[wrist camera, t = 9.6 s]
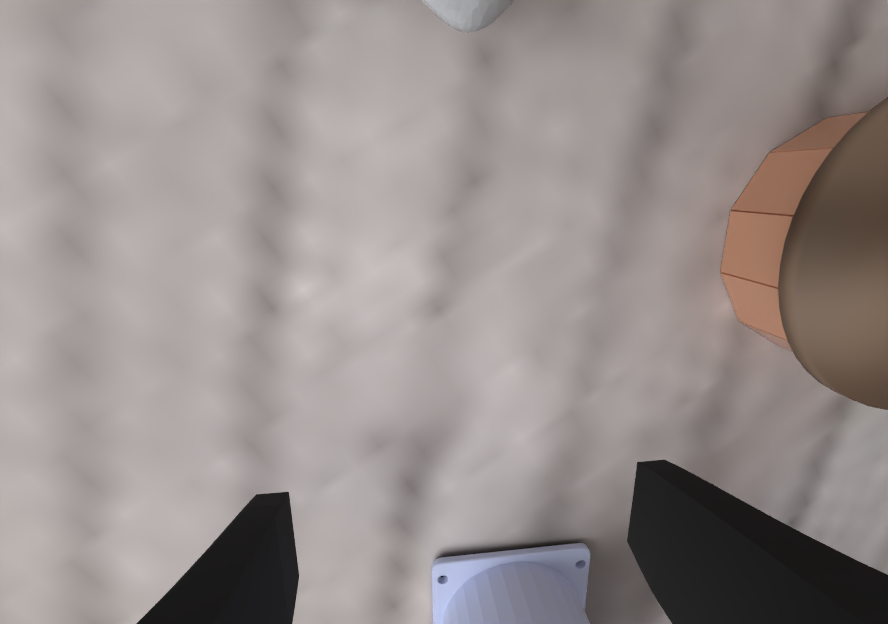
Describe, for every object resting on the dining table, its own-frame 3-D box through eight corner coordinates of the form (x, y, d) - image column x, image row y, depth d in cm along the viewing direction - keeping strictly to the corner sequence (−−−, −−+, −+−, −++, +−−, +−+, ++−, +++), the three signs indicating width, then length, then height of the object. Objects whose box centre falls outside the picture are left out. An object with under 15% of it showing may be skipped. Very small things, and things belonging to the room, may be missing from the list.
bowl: (897, 339, 22) (1003, 372, 18) (707, 350, 21) (778, 388, 17) (960, 118, 19) (1101, 103, 16) (745, 116, 18) (840, 100, 14)
